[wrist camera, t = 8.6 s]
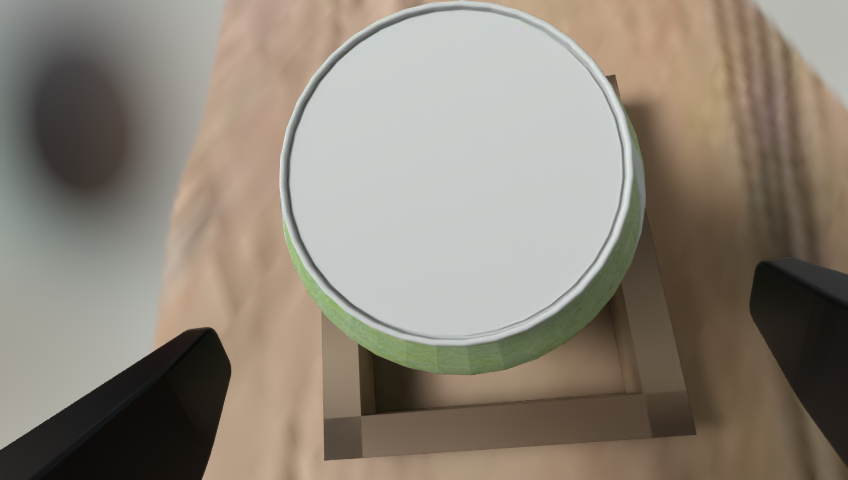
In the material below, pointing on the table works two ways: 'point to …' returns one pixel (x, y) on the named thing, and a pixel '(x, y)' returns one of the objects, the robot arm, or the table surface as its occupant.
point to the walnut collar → (522, 420)
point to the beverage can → (461, 188)
